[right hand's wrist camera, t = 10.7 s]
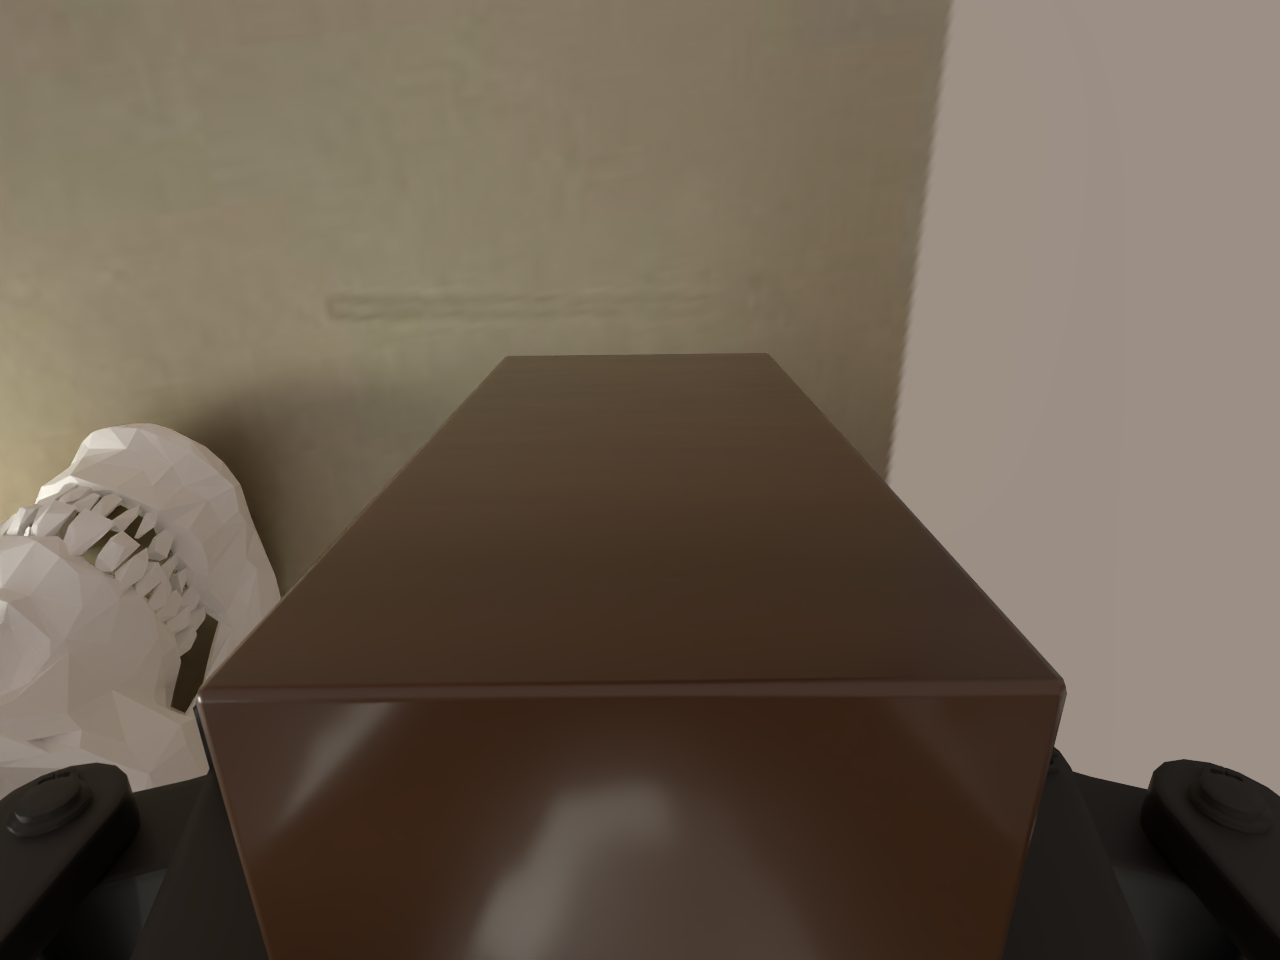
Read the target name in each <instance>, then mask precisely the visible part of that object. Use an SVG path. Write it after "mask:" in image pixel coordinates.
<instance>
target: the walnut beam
mask: <svg viewBox="0 0 1280 960" xmlns="http://www.w3.org/2000/svg"><path fill="white" fill-rule="evenodd" d="M1066 695H1067V692H1066V686H1065V683H1064V680H1063V678H1062V677H1061V676H1060V675H1059V674H1058V673H1057V672H1056V671H1055V669H1054V668H1053V667H1052V666H1051V665H1050V664H1049V663H1048V662H1047V661H1046V660H1045V658H1044V657H1043V656H1042V655H1041V654H1040V653H1039V652H1038V651H1037V650H1036V648H1035V647H1034V646H1033V645H1032V644H1031V643H1030V642H1029V641H1028V640H1027V639H1026V637H1025V636H1024V635H1023V634H1022V633H1021V632H1020V631H1019V630H1018V629H1017V628H1016V626H1015V625H1014V624H1013V623H1012V622H1011V621H1010V620H1009V619H1008V618H1007V616H1006V615H1005V614H1004V613H1003V612H1002V611H1001V610H1000V609H999V608H998V607H997V605H996V604H995V603H994V602H993V601H992V600H991V599H990V598H989V597H988V595H987V594H986V593H985V592H984V591H983V590H982V589H981V588H980V587H979V586H978V584H977V583H976V582H975V581H974V580H973V579H972V578H971V577H970V576H969V575H968V573H967V572H966V571H965V570H964V569H963V568H962V567H961V566H960V565H959V563H958V562H957V561H956V560H955V559H954V558H953V557H952V556H951V555H950V554H949V552H948V551H947V550H946V549H945V548H944V547H943V546H942V545H941V544H940V543H939V541H938V540H937V539H936V538H935V537H934V536H933V535H932V534H931V533H930V532H929V530H928V529H927V528H926V527H925V526H924V525H923V524H922V523H921V522H920V520H919V519H918V518H917V517H916V516H915V515H914V514H913V513H912V512H911V511H910V509H909V508H908V507H907V506H906V505H905V504H904V503H903V502H902V501H901V500H900V498H899V497H898V496H897V495H896V494H895V493H894V492H893V491H892V490H891V488H890V487H889V486H888V485H887V484H886V483H885V482H884V481H883V480H882V479H881V477H880V476H879V475H878V474H877V473H876V472H875V471H874V470H873V469H872V468H871V466H870V465H869V464H868V463H867V462H866V461H865V460H864V459H863V458H862V456H861V455H860V454H859V453H858V452H857V451H856V450H855V449H854V448H853V447H852V445H851V444H850V443H849V442H848V441H847V440H846V439H845V438H844V437H843V436H842V434H841V433H840V432H839V431H838V430H837V429H836V428H835V427H834V426H833V424H832V423H831V422H830V421H829V420H828V419H827V418H826V417H825V416H824V415H823V413H822V412H821V411H820V410H819V409H818V408H817V407H816V406H815V405H814V404H813V402H812V401H811V400H810V399H809V398H808V397H807V396H806V395H805V394H804V392H803V391H802V390H801V389H800V388H799V387H798V386H797V385H796V384H795V383H794V381H793V380H792V379H791V378H790V377H789V376H788V375H787V374H786V373H785V372H784V370H783V369H782V368H781V367H780V366H779V365H778V364H777V363H776V362H775V360H774V359H773V358H772V357H771V356H770V355H769V354H767V353H738V354H654V355H571V356H507V357H505V358H504V359H503V360H502V361H501V362H500V363H499V364H498V366H497V367H496V368H495V369H494V370H493V371H492V372H491V373H490V374H489V375H488V376H487V377H486V379H485V380H484V381H483V382H482V383H481V384H480V385H479V386H478V387H477V388H476V389H475V390H474V391H473V393H472V394H471V395H470V396H469V397H468V398H467V399H466V400H465V401H464V402H463V403H462V404H461V405H460V407H459V408H458V409H457V410H456V411H455V412H454V413H453V414H452V415H451V416H450V417H449V418H448V420H447V421H446V422H445V423H444V424H443V425H442V426H441V427H440V428H439V429H438V430H437V431H436V432H435V434H434V435H433V436H432V437H431V438H430V439H429V440H428V441H427V442H426V443H425V444H424V445H423V446H422V448H421V449H420V450H419V451H418V452H417V453H416V454H415V455H414V456H413V457H412V458H411V459H410V461H409V462H408V463H407V464H406V465H405V466H404V467H403V468H402V469H401V470H400V471H399V472H398V473H397V475H396V476H395V477H394V478H393V479H392V480H391V481H390V482H389V483H388V484H387V485H386V486H385V488H384V489H383V490H382V491H381V492H380V493H379V494H378V495H377V496H376V497H375V498H374V499H373V500H372V502H371V503H370V504H369V505H368V506H367V507H366V508H365V509H364V510H363V511H362V512H361V513H360V514H359V516H358V517H357V518H356V519H355V520H354V521H353V522H352V523H351V524H350V525H349V526H348V527H347V529H346V530H345V531H344V532H343V533H342V534H341V535H340V536H339V537H338V538H337V539H336V540H335V541H334V543H333V544H332V545H331V546H330V547H329V548H328V549H327V550H326V551H325V552H324V553H323V554H322V556H321V557H320V558H319V559H318V560H317V561H316V562H315V563H314V564H313V565H312V566H311V567H310V568H309V570H308V571H307V572H306V573H305V574H304V575H303V576H302V577H301V578H300V579H299V580H298V581H297V582H296V584H295V585H294V586H293V587H292V588H291V589H290V590H289V591H288V592H287V593H286V594H285V595H284V597H283V598H282V599H281V600H280V601H279V602H278V603H277V604H276V605H275V606H274V607H273V608H272V609H271V611H270V612H269V613H268V614H267V615H266V616H265V617H264V618H263V619H262V620H261V621H260V622H259V624H258V625H257V626H256V627H255V628H254V629H253V630H252V631H251V632H250V633H249V634H248V635H247V636H246V638H245V639H244V640H243V641H242V642H241V643H240V644H239V645H238V646H237V647H236V648H235V649H234V650H233V652H232V653H231V654H230V655H229V656H228V657H227V658H226V659H225V660H224V661H223V662H222V663H221V665H220V666H219V667H218V668H217V669H216V670H215V671H214V672H213V673H212V674H211V675H210V676H209V677H208V679H207V680H206V681H205V682H204V683H203V684H202V685H201V686H200V687H199V689H198V692H197V695H196V706H197V709H198V713H199V716H200V720H201V723H202V727H203V730H204V734H205V737H206V741H207V744H208V748H209V751H210V755H211V758H212V762H213V765H214V769H215V772H216V776H217V779H218V783H219V786H220V790H221V793H222V797H223V800H224V804H225V807H226V811H227V814H228V818H229V821H230V825H231V828H232V832H233V835H234V839H235V842H236V846H237V849H238V853H239V856H240V860H241V863H242V867H243V870H244V874H245V877H246V881H247V884H248V888H249V891H250V895H251V898H252V902H253V905H254V909H255V912H256V916H257V919H258V923H259V926H260V930H261V933H262V937H263V940H264V944H265V947H266V951H267V954H268V958H269V960H1002V957H1003V953H1004V949H1005V944H1006V940H1007V936H1008V932H1009V928H1010V924H1011V920H1012V916H1013V912H1014V908H1015V904H1016V899H1017V895H1018V891H1019V887H1020V883H1021V879H1022V875H1023V871H1024V867H1025V863H1026V859H1027V854H1028V850H1029V846H1030V842H1031V838H1032V834H1033V830H1034V826H1035V822H1036V818H1037V814H1038V810H1039V805H1040V801H1041V797H1042V793H1043V789H1044V785H1045V781H1046V777H1047V773H1048V769H1049V765H1050V760H1051V756H1052V752H1053V748H1054V744H1055V740H1056V736H1057V732H1058V728H1059V724H1060V720H1061V715H1062V711H1063V707H1064V703H1065V699H1066Z"/></svg>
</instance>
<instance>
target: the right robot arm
mask: <svg viewBox="0 0 1280 960" xmlns="http://www.w3.org/2000/svg"><path fill="white" fill-rule="evenodd" d="M193 711H194V715H195V718H196V722H197V725H198V729H199V733H200V736H201V740H202V743H203V747H204V751H205V754H206V758H207V762H208V765H209V771H208V773H207V775H204V776H200V777H197V778H193V779H190V780H186V781H182V782H177V783H173V784H168V785H164V786H159V787H155V788H151V789H146V790H142V791H137V792H132V789H131V786H130V783H129V780H128V777H127V774H125V773H124V772H123V771H122V770H121V769H120V768H118V767H117V766H116V765H110V764H103V763H97V762H96V763H89V764H81V765H74V766H69V767H66V768H63V769H60V770H57V771H53V772H50V773H48V774H45V775H42V776H40V777H38V778H36V779H34V780H32V781H31V782H29V783H27V784H25V785H23V786H21V787H19V788H17V789H15V790H13V791H12V792H11V793H9V794H8V795H7V796H5V797H4V798H3V799H1V800H0V960H269V958H268V954H267V951H266V947H265V944H264V940H263V937H262V933H261V930H260V926H259V923H258V919H257V916H256V912H255V909H254V905H253V902H252V898H251V895H250V891H249V888H248V884H247V881H246V877H245V874H244V870H243V867H242V863H241V860H240V856H239V853H238V849H237V846H236V842H235V839H234V835H233V832H232V828H231V825H230V821H229V818H228V814H227V811H226V807H225V804H224V800H223V797H222V793H221V790H220V786H219V783H218V779H217V776H216V772H215V769H214V765H213V762H212V758H211V755H210V751H209V748H208V744H207V741H206V737H205V734H204V730H203V727H202V723H201V720H200V716H199V713H198V709H197V706H196V705H195V706H194V707H193ZM1002 960H1280V796H1278V795H1277V794H1276V793H1274V792H1273V791H1272V790H1270V789H1269V788H1268V787H1266V786H1264V785H1262V784H1260V783H1258V782H1256V781H1254V780H1252V779H1250V778H1249V777H1247V776H1245V775H1243V774H1241V773H1239V772H1236V771H1233V770H1231V769H1228V768H1224V767H1222V766H1218V765H1215V764H1212V763H1207V762H1200V761H1193V760H1186V759H1182V760H1176V761H1169V762H1164V763H1163V764H1162V765H1161V766H1159V767H1158V768H1157V769H1156V770H1155V771H1154V772H1153V775H1152V778H1151V781H1150V784H1149V787H1148V790H1147V789H1143V788H1138V787H1134V786H1130V785H1125V784H1121V783H1116V782H1112V781H1107V780H1103V779H1098V778H1094V777H1090V776H1086V775H1083V774H1080V773H1076V772H1073V771H1072V769H1071V767H1070V766H1069V764H1068V763H1067V761H1066V760H1065V758H1064V757H1063V756H1062V754H1061V753H1060V751H1059V750H1057V749H1056V748H1055V747H1054V748H1053V752H1052V756H1051V760H1050V765H1049V769H1048V773H1047V777H1046V781H1045V785H1044V789H1043V793H1042V797H1041V801H1040V805H1039V810H1038V814H1037V818H1036V822H1035V826H1034V830H1033V834H1032V838H1031V842H1030V846H1029V850H1028V854H1027V859H1026V863H1025V867H1024V871H1023V875H1022V879H1021V883H1020V887H1019V891H1018V895H1017V899H1016V904H1015V908H1014V912H1013V916H1012V920H1011V924H1010V928H1009V932H1008V936H1007V940H1006V944H1005V949H1004V953H1003V957H1002Z"/></svg>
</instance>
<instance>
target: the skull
mask: <svg viewBox="0 0 1280 960" xmlns="http://www.w3.org/2000/svg"><path fill="white" fill-rule="evenodd" d="M99 497H103V498H102V499H101V500H100V501H99V502H98V500H99ZM97 502H98V503H97ZM96 503H97V504H96ZM94 504H96V505H95V507H94V508H93V509H92V510H91V508H92V507H93V505H94ZM120 505H122V506H124V507H125V508H127V509H129V510H127V511H125V512H124V513H122V514H121V515H119V516H118V517H116V518H115V519H113V520H110V519H108V518H106V517H107V516H108V515H109V514H110V513H111V512H112V511H113V510H114V509H115V508H116V507H117V506H120ZM90 510H91V511H90ZM77 511H78V512H80V513H79V515H78V516H77V517H76V518H75V516H76V514H77ZM138 515H139V516H141V517H143V520H142V522H141V524H140V526H139V529H138V531H137V533H136V535H135V537H134V538H136V539H139V538H140V537H142V536H143V535H144V534H146V533H147V532H148V531H149V530H151V529H152V528H154V531H155V533H156V536H155V537H154V538H153V539H152V541H151V543H150V545H149V547H148V549H147V548H145V549H144V550H142V551H141V552H139V553H137V554H136V555H134V556H133V557H132V558H131V559H130V560H128V561H127V562H126V563H125V564H124V565H122V566H121V567H120V568H119V569H118V570H116V571H115V572H114V574H115V577H114V576H112V575H111V574H109V573H107V572H110V571H114V570H115V569H116V568H117V567H118V566H119V565H120V564H121V563H122V562H123V561H124V560H125V559H126V558H128V557H129V556H130V555H131V554H132V553H133V552H134V551H135V550H136V549H137V548H138V547H139V546H140V544H138V543H137V542H136V541H135V540H133V539H132V538H131V537H130V536H129V535H127V534H126V533H125V532H124V530H125V529H126V528H127V527H128V526H129V525H130V524H131V523H132V522H133V521H134V520H135V518H136V517H137V516H138ZM74 518H75V519H74ZM110 529H111V531H115V532H119V533H118V534H116V535H114V536H113V537H111V538H110V539H109V541H108V542H107V543H106V545H105V546H104V547H103V549H102V550H101V551H100V553H99V554H98V556H97V559H96V563H95V566H94V565H92V564H90V563H88V562H87V561H86V560H85V559H84V558H83V557H81V555H82V554H83V553H85V552H86V551H87V550H88V549H89V548H90V547H91V546H93V545H94V544H95V543H96V542H97V541H98V540H99V539H101V538H102V537H103V536H104V535H105V534H106V533H107V532H108V531H109V530H110ZM169 551H171V553H172V556H171V557H170V558H169V559H168V560H167V561H166V562H165V563H164V564H163V565H162V566H160V564H159V562H148V559H151V560H157V561H161V560H163V559H165V558H167V556H168V554H169ZM174 570H175V571H176V572H177V573H176V574H174V575H172V576H171V574H172V573H173V571H174ZM170 576H171V577H170ZM136 582H137V583H136ZM135 583H136V584H135ZM133 584H135V586H134V588H133V587H132V585H133ZM185 584H186V585H187V586H188V587H187V588H186V589H184V590H183V588H184V586H185ZM153 588H154V590H153V592H152V594H151V596H150V597H149V599H147V598H146V597H144V596H145V595H146V594H147V593H149V592H150V591H151V590H152V589H153ZM280 600H281V597H280V593H279V588H278V584H277V580H276V577H275V574H274V571H273V569H272V567H271V564H270V562H269V559H268V557H267V555H266V552H265V550H264V547H263V545H262V542H261V540H260V538H259V535H258V533H257V530H256V528H255V526H254V523H253V521H252V518H251V516H250V513H249V509H248V506H247V503H246V500H245V497H244V494H243V491H242V488H241V485H240V483H239V482H238V481H237V479H236V478H235V477H234V475H233V474H232V473H231V471H230V470H229V469H228V467H227V466H226V465H225V464H224V462H223V461H221V460H220V459H219V458H218V457H217V456H216V455H215V454H213V453H212V452H211V451H210V450H209V449H208V448H207V447H205V446H203V445H201V444H199V443H197V442H196V441H194V440H192V439H190V438H188V437H186V436H184V435H182V434H180V433H178V432H176V431H174V430H172V429H170V428H167V427H163V426H160V425H156V424H153V423H132V424H126V425H120V426H114V427H108V428H103V429H100V430H97V431H93V432H92V433H91V434H90V435H89V436H88V437H87V438H86V439H85V440H84V441H83V442H82V444H81V446H80V448H79V450H78V452H77V454H76V455H75V457H74V459H73V461H72V463H71V465H70V467H68V468H67V469H66V470H64V471H63V472H61V473H60V474H59V475H57V476H56V477H54V478H53V479H52V480H50V481H49V482H47V483H46V484H45V485H43V486H42V487H41V489H40V492H39V494H38V496H37V499H36V501H35V504H33V505H29V506H25V507H20V508H19V510H18V512H17V513H16V514H14V515H13V516H12V517H10V518H9V519H8V520H6V521H5V522H3V523H2V524H1V525H0V800H1V799H3V798H4V797H5V796H7V795H8V794H9V793H11V792H12V791H13V790H15V789H17V788H19V787H21V786H23V785H25V784H27V783H29V782H31V781H32V780H34V779H36V778H38V777H40V776H42V775H45V774H48V773H50V772H53V771H57V770H60V769H63V768H66V767H69V766H74V765H81V764H89V763H96V762H97V763H103V764H110V765H116V766H117V767H118V768H120V769H121V770H122V771H123V772H124V773H125V774H127V777H128V780H129V783H130V786H131V789H132V792H137V791H142V790H146V789H151V788H155V787H159V786H164V785H168V784H173V783H177V782H182V781H186V780H190V779H193V778H197V777H200V776H204V775H207V773H208V771H209V765H208V762H207V758H206V754H205V751H204V747H203V743H202V740H201V736H200V733H199V729H198V725H197V722H196V718H195V715H194V711H193V707H194V706H195V705H196V696H195V698H194V699H193V701H192V703H191V704H190V706H189V708H188V709H187V711H186V713H184V712H182V711H180V710H177V709H175V708H173V707H170V706H171V702H172V698H173V693H174V689H175V685H176V681H177V677H178V673H179V669H180V665H181V659H180V656H182V655H183V654H184V653H186V652H187V651H189V650H190V649H191V647H192V645H193V643H194V641H195V639H196V637H197V634H196V630H197V629H198V628H199V626H200V625H201V624H202V622H203V621H204V620H205V616H206V613H207V614H208V615H210V616H211V617H212V618H214V619H215V620H217V621H218V625H217V629H216V632H215V636H214V639H213V643H212V646H211V650H210V654H209V659H208V663H207V667H206V671H205V676H204V680H203V683H204V682H205V681H206V680H207V679H208V677H209V676H210V675H211V674H212V673H213V672H214V671H215V670H216V669H217V668H218V667H219V666H220V665H221V663H222V662H223V661H224V660H225V659H226V658H227V657H228V656H229V655H230V654H231V653H232V652H233V650H234V649H235V648H236V647H237V646H238V645H239V644H240V643H241V642H242V641H243V640H244V639H245V638H246V636H247V635H248V634H249V633H250V632H251V631H252V630H253V629H254V628H255V627H256V626H257V625H258V624H259V622H260V621H261V620H262V619H263V618H264V617H265V616H266V615H267V614H268V613H269V612H270V611H271V609H272V608H273V607H274V606H275V605H276V604H277V603H278V602H279V601H280ZM196 695H197V694H196Z"/></svg>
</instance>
